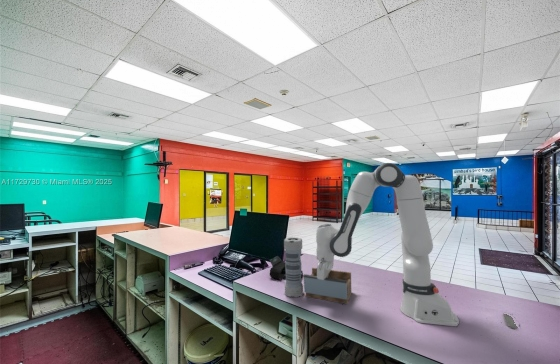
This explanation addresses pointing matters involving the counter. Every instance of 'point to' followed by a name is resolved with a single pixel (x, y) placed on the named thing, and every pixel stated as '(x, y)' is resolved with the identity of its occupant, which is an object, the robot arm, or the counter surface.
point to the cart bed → (334, 275)
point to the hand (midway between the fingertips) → (325, 282)
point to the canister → (293, 267)
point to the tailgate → (325, 286)
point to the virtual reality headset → (279, 269)
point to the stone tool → (509, 321)
